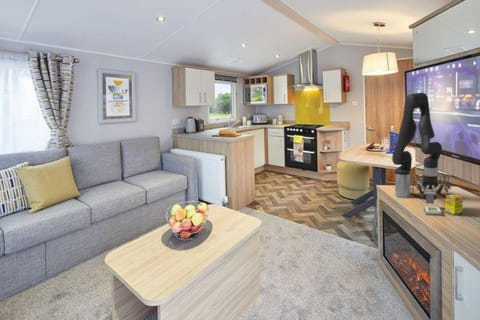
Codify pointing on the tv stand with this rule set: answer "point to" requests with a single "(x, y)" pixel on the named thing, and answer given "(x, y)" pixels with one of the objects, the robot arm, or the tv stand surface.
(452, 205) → the supplement box
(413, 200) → the tv stand surface
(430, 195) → the plug
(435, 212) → the socket board
